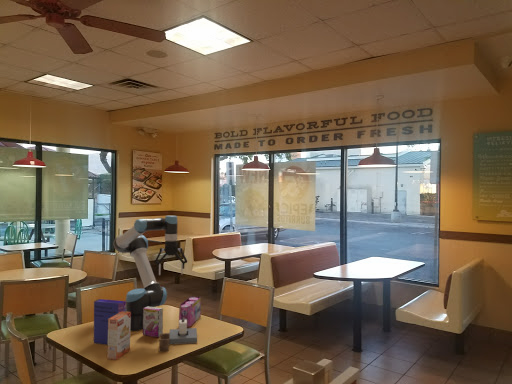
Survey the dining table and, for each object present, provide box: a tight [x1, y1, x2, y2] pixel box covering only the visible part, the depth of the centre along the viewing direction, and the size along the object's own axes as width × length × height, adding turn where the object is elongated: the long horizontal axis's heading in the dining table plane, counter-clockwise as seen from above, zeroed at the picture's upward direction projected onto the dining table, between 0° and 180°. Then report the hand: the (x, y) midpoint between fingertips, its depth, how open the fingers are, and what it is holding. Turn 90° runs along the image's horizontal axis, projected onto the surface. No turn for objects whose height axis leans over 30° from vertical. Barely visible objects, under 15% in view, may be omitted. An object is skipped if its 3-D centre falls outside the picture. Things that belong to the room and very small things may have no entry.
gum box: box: [178, 296, 202, 328], centre depth 262 cm, size 24×8×14 cm, turn 171°
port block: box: [168, 327, 198, 345], centre depth 231 cm, size 16×16×3 cm
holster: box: [158, 332, 170, 352], centre depth 217 cm, size 5×10×6 cm, turn 10°
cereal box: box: [93, 298, 126, 346], centre depth 223 cm, size 17×5×24 cm, turn 76°
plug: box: [178, 319, 188, 336], centre depth 231 cm, size 4×6×11 cm
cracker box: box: [106, 311, 131, 361], centre depth 207 cm, size 14×6×21 cm, turn 170°
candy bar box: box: [142, 306, 164, 338], centre depth 236 cm, size 11×5×16 cm, turn 71°
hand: (170, 274), depth 245 cm, fingers open, 13 cm apart
